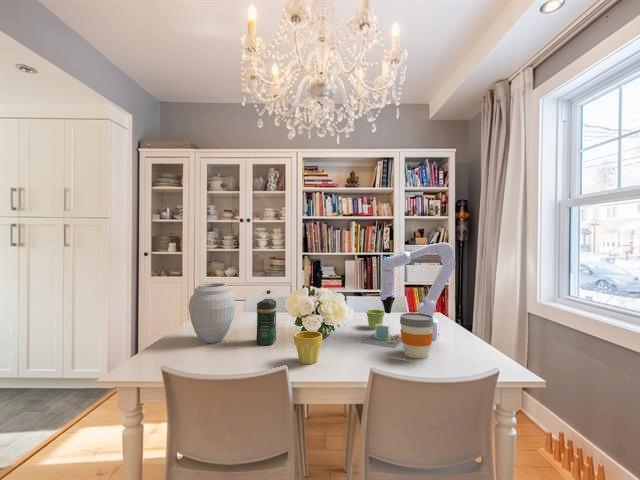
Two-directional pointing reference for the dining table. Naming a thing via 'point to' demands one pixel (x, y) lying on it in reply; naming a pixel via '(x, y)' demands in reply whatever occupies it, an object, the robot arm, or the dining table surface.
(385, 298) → the robot arm
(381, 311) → the plant pot
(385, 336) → the tile
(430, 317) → the reusable coffee cup
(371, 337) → the mat
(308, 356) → the plant pot
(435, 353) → the dining table surface
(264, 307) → the coffee jar
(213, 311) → the vase
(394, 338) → the wooden plank
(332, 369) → the dining table surface
